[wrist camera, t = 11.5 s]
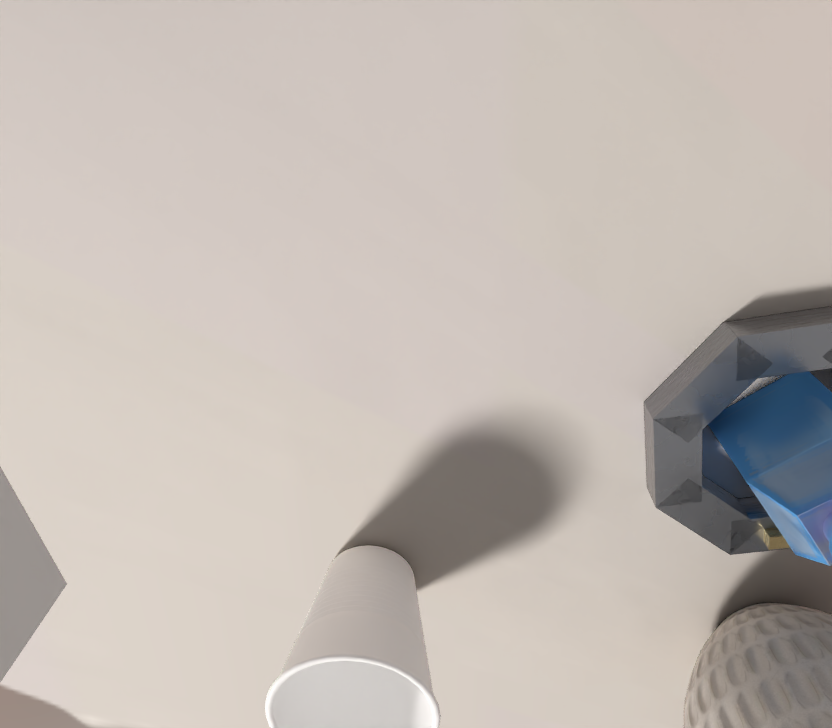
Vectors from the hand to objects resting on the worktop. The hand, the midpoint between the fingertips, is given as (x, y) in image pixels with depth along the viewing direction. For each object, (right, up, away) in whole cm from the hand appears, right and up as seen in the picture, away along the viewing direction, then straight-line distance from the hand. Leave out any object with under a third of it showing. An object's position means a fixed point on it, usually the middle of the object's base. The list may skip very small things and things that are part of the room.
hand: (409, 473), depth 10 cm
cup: (-3, -13, +37) cm, 39 cm away
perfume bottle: (+22, -2, +30) cm, 37 cm away
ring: (+22, -2, +30) cm, 37 cm away
